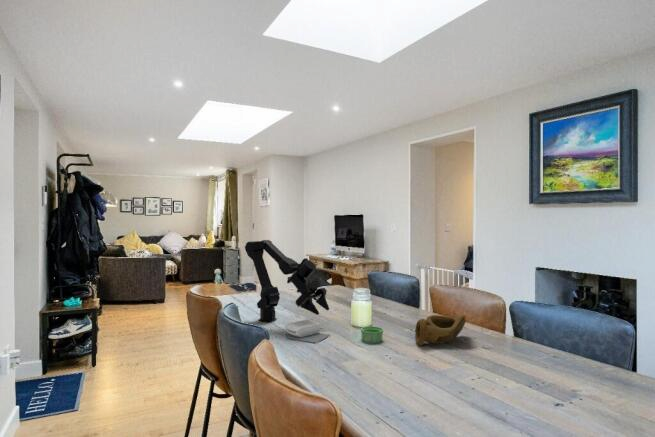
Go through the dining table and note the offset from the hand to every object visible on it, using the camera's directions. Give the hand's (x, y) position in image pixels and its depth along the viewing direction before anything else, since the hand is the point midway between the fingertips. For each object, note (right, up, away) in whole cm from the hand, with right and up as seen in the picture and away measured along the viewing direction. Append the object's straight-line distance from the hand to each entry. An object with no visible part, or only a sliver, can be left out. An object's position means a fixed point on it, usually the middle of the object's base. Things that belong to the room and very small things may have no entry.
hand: (323, 311), depth 171 cm
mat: (-6, -8, -9) cm, 14 cm away
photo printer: (-4, -5, -2) cm, 7 cm away
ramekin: (+19, -8, -13) cm, 25 cm away
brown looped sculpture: (+47, -9, -14) cm, 50 cm away
